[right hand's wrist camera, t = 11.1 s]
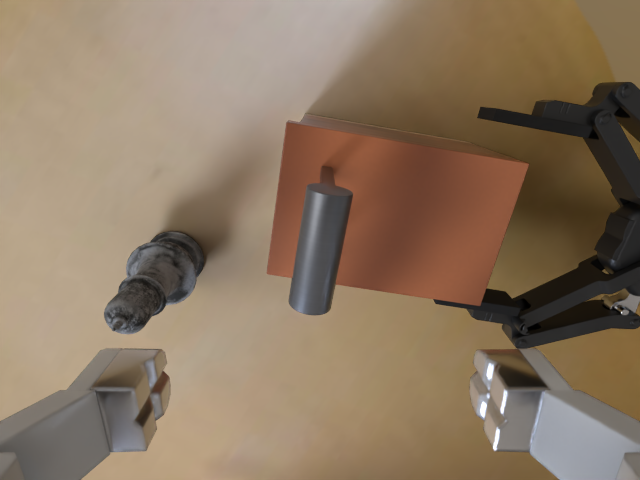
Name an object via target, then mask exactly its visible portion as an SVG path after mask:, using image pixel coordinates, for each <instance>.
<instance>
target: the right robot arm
mask: <svg viewBox="0 0 640 480" xmlns="http://www.w3.org/2000/svg"><path fill="white" fill-rule="evenodd" d="M166 364H167V360H166V355H165V352H164V351H163V350H162V349H122V348H106V349H103V350H100V351H99V353H98V354H97V355H96V356H95V357H94V358H93V360H92V361H91V362H90V363H89V364H88V365H87V367H86V368H85V369H84V370H83V371H82V372H81V374H80V375H79V376H78V377H77V378H76V379H75V381H74V382H73V383H72V384H71V385H70V386H69V388H68V389H67V390H60V391H58V392H56V393H54V394H52V395H50V396H48V397H46V398H44V399H42V400H40V401H38V402H36V403H35V404H33V405H31V406H29V407H27V408H25V409H23V410H21V411H19V412H17V413H15V414H13V415H12V416H10V417H8V418H6V419H4V420H2V421H0V480H81V479H82V478H83V477H84V476H85V475H86V474H88V473H89V472H90V471H91V470H92V469H93V468H95V467H96V466H97V465H98V464H99V463H100V462H102V461H103V460H104V459H105V458H106V457H107V456H109V455H110V452H132V451H146V450H147V448H148V446H149V444H150V442H151V440H152V438H153V436H154V434H155V432H156V430H157V426H156V420H157V419H159V418H160V417H161V416H163V415H164V413H165V411H166V409H167V407H168V403H169V398H170V378H169V376H168V375H167V374H166V373H165V372H164V371H163V369H164V368H165V366H166ZM473 364H474V366H475V368H476V369H477V371H476V372H475V373H474V374H473V375H472V376H471V378H470V387H469V390H470V399H471V403H472V406H473V409H474V411H475V413H476V415H477V416H479V417H480V418H481V419H483V420H484V426H483V430H484V432H485V434H486V436H487V438H488V440H489V442H490V444H491V446H492V448H493V450H494V451H507V452H530V454H531V455H532V456H533V457H534V458H535V459H536V460H537V461H539V462H540V463H541V464H542V465H543V466H544V467H546V468H547V469H548V470H549V471H550V472H551V473H553V474H554V475H555V476H556V477H557V478H558V479H559V480H640V421H638V420H636V419H634V418H632V417H630V416H628V415H626V414H624V413H623V412H621V411H619V410H617V409H615V408H613V407H611V406H609V405H607V404H605V403H603V402H602V401H600V400H598V399H596V398H594V397H592V396H590V395H588V394H586V393H584V392H582V391H580V390H573V389H572V388H571V386H570V385H569V384H568V383H567V382H566V381H565V379H564V378H563V377H562V376H561V375H560V374H559V372H558V371H557V370H556V369H555V368H554V367H553V365H552V364H551V363H550V362H549V361H548V360H547V358H546V357H545V356H544V355H543V354H542V353H541V351H539V350H538V349H536V348H525V349H499V350H476V352H475V355H474V360H473Z"/></svg>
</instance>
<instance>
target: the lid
mask: <svg viewBox="0 0 640 480" xmlns="http://www.w3.org/2000/svg"><path fill="white" fill-rule="evenodd" d="M528 167H529V163H526V162H523V161H520V160H516V159H510V158H504V157H498V156H492V155H487V154H481V153H475V152H469V151H463V150H458V149H452V148H446V147H440V146H434V145H428V144H423V143H417V142H411V141H405V140H399V139H393V138H388V137H382V136H376V135H370V134H364V133H359V132H353V131H347V130H341V129H335V128H329V127H324V126H318V125H312V124H306V123H300V122H295V121H288V122H287V123H286V130H285V137H284V145H283V153H282V160H281V168H280V175H279V183H278V191H277V198H276V206H275V213H274V221H273V229H272V236H271V244H270V252H269V259H268V267H267V274H270V275H276V276H283V277H290V278H292V283H291V289H290V296H289V304H290V306H291V307H292V308H293V309H295V310H296V311H298V312H300V313H303V314H308V315H322V314H325V313H327V312H328V311H329V310H330V308H331V304H332V299H333V294H334V289H335V284H336V285H343V286H350V287H356V288H363V289H370V290H376V291H383V292H390V293H396V294H403V295H410V296H416V297H423V298H430V299H436V300H443V301H450V302H456V303H463V304H470V305H476V306H480V305H481V302H482V299H483V296H484V294H485V291H486V288H487V285H488V282H489V279H490V276H491V273H492V271H493V268H494V265H495V262H496V259H497V256H498V253H499V250H500V247H501V245H502V242H503V239H504V236H505V233H506V230H507V227H508V224H509V222H510V219H511V216H512V213H513V210H514V207H515V204H516V201H517V198H518V196H519V193H520V190H521V187H522V184H523V181H524V178H525V175H526V173H527V170H528Z"/></svg>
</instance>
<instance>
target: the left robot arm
mask: <svg viewBox="0 0 640 480" xmlns="http://www.w3.org/2000/svg"><path fill="white" fill-rule="evenodd" d="M592 95H593V97H592V98H591V99H590V100H589V101H588V102H587V103H586V104H585V105H577V104H572V103H567V102H561V101H556V100H541V101H537V102H536V103H535V106H534V109H533V112H532V115H528V114H523V113H518V112H512V111H507V110H501V109H496V108H486V107H480V111H479V114H478V117H477V118H480V119H486V120H491V121H497V122H502V123H508V124H513V125H518V126H524V127H529V128H535V129H540V130H545V131H551V132H556V133H562V134H567V135H573V136H578V137H583V139H584V140H585V142H586V144H587V145H588V147H589V149H590V150H591V152H592V154H593V155H594V157H595V159H596V160H597V162H598V164H599V166H600V167H601V169H602V171H603V172H604V174H605V176H606V177H607V179H608V181H609V182H610V184H611V186H612V189H611V192H612V194H613V195H614V197H615V199H616V200H617V202H618V204H619V205H620V208H619V209H617V211H616V212H615V213H612V212H611V213H610V215H609V218H608V220H607V223H606V229H605V232H604V234H603V235H602V236H601V238H600V239H599V240H598V242H597V245H596V247H595V249H594V250H596V251H597V255H595V256H593V257H591V258H589V259H586V260H584V261H582V262H581V263H579V265H578V268H576V269H574V270H572V271H570V272H568V273H566V274H564V275H562V276H560V277H558V278H555V279H553V280H551V281H549V282H547V283H545V284H543V285H541V286H539V287H536V288H534V289H532V290H530V291H528V292H526V293H524V294H522V295H520V296H517V297H515V298H513V299H512V298H511V297H510V296H509V295H508V294H507V293H506V292H505V291H499V290H493V289H486V291H485V294H484V296H483V299H482V302H481V305H480V306H476V305H470V304H463V303H456V302H450V301H443V300H436V299H433V300H434V302H435V303H436V304H440V305H446V306H453V307H459V308H466V309H467V311H468V312H469V313H470V315H471V316H472V317H473V318H475V319H477V320H482V321H483V320H484V321H489V322H495V323H502V324H503V325H502V329H503V331H504V332H505V334H506V335H507V336H508V338H509V339H510V340H511V342H512V343H513V344H514V346H515V347H516V348H517V349H525V348H530V347H535V346H539V345H543V344H547V343H551V342H555V341H560V340H564V339H568V338H572V337H576V336H580V335H585V334H589V333H593V332H597V331H601V330H605V329H610V328H619V329H636V328H638V327H639V326H640V316H639V315H637V314H636V313H635V312H636V310H637V307H638V304H639V302H640V161H639V159H638V157H637V155H636V153H635V152H634V150H633V148H632V146H631V144H630V143H629V141H628V139H627V137H626V135H625V134H624V132H623V130H622V128H621V126H620V125H619V123H620V124H621V125H622V126H623V127H624V128H625V129H626V130H627V131H628V132H629V133H630V134H632V135H633V136H634V137H635V138H636V139H637V140H638V141H639V142H640V90H639V89H638V88H637V87H636V86H635V85H634V84H633V83H631V82H613V83H600V84H598V85H597V86H596V87H595V88H594V90H593V93H592ZM618 122H619V123H618ZM604 269H606V271H607V272H608V273H609V274H610V275H608V274H605V273H604V272H602V270H604ZM620 290H621V291H620ZM618 291H620V292H619V293H618V294H617V295H614V296H610V297H609V296H608V295H604V296H603V297H602V300H591V301H586V300H589V299H591V298H593V297H595V296H597V295H600V294H613V293H615V292H618ZM584 301H586V302H584Z"/></svg>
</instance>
